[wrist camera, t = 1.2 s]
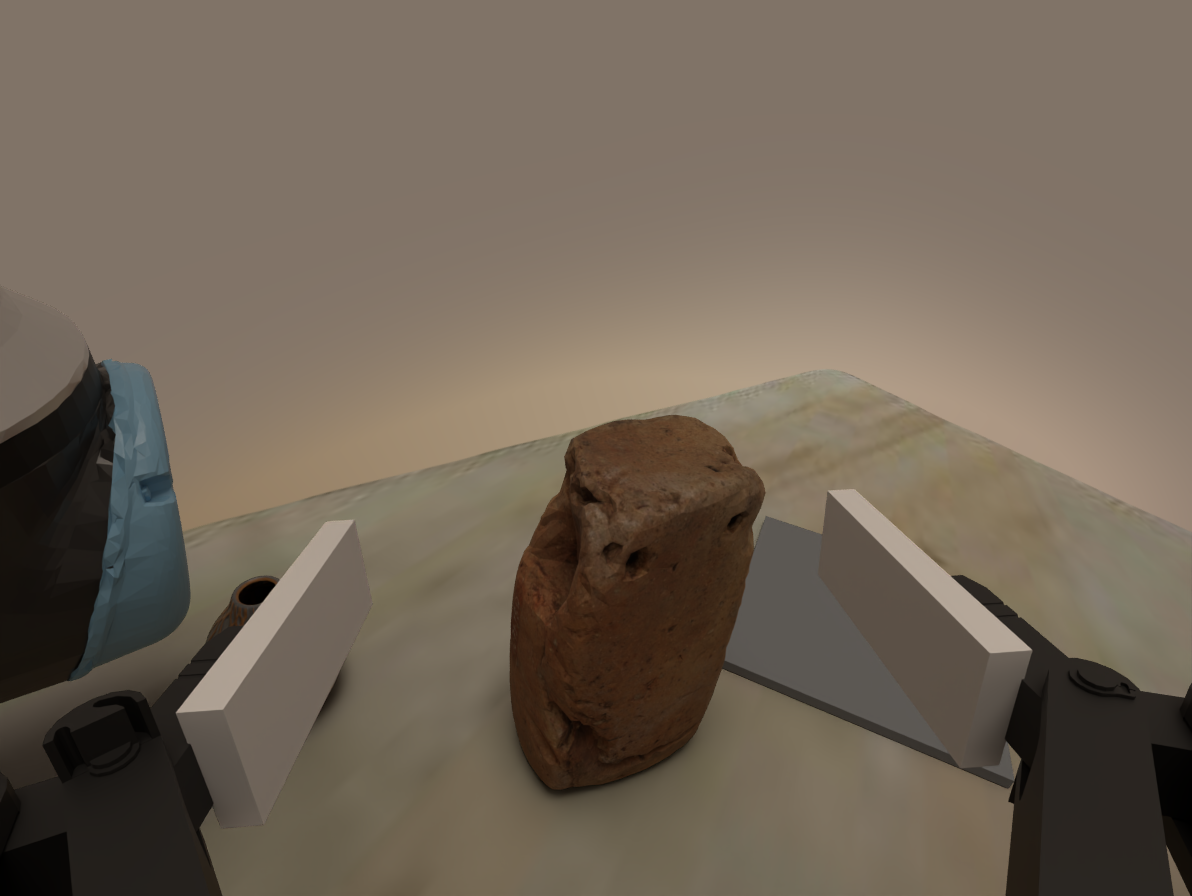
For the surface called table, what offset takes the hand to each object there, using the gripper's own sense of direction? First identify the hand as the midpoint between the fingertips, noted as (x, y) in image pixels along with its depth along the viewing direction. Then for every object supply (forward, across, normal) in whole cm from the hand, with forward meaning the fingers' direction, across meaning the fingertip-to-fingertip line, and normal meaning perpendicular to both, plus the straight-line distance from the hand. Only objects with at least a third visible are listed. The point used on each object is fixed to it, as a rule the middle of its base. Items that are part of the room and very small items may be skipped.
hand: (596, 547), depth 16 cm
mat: (+21, +21, -21) cm, 36 cm away
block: (+13, 0, -20) cm, 24 cm away
